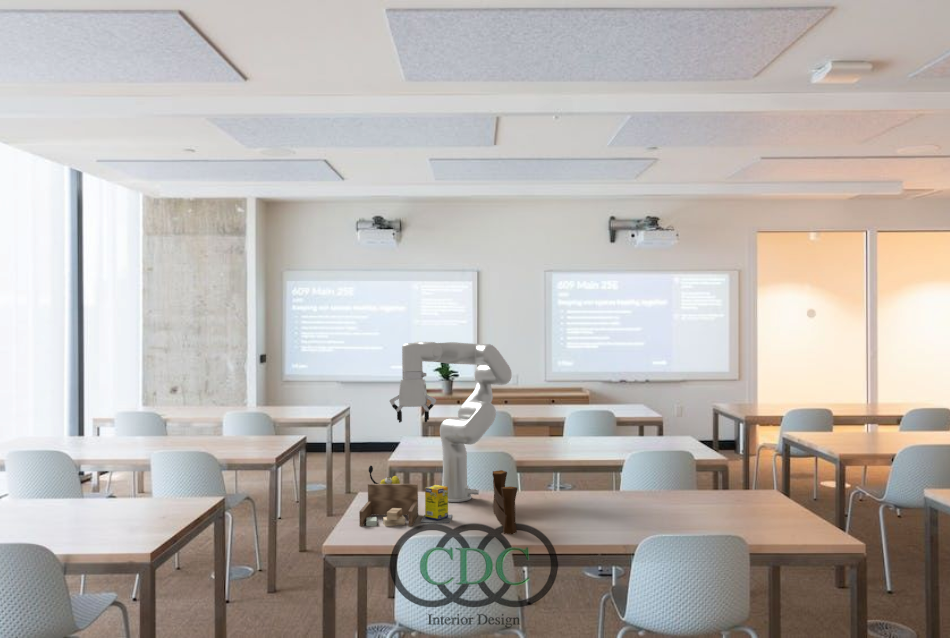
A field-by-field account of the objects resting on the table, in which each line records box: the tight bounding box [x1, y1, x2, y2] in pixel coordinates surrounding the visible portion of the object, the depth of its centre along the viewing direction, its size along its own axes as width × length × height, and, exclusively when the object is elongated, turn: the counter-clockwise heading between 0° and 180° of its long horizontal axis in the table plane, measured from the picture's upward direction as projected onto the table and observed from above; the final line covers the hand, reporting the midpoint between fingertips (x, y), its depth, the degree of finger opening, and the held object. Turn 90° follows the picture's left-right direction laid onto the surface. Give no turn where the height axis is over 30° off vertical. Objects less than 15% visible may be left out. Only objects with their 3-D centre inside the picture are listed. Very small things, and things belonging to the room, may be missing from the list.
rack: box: [358, 483, 419, 527], centre depth 264 cm, size 18×16×11 cm
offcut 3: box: [382, 515, 406, 527], centre depth 259 cm, size 7×4×2 cm, turn 106°
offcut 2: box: [386, 508, 403, 520], centre depth 259 cm, size 6×4×2 cm, turn 168°
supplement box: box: [424, 484, 449, 521], centre depth 264 cm, size 6×6×11 cm
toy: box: [368, 465, 401, 484], centre depth 290 cm, size 6×14×15 cm
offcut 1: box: [365, 516, 378, 527], centre depth 259 cm, size 4×5×2 cm
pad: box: [420, 514, 453, 524], centre depth 264 cm, size 10×10×1 cm
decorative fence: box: [492, 469, 518, 535], centre depth 259 cm, size 34×6×15 cm, turn 5°
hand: (413, 422), depth 280 cm, fingers open, 9 cm apart
